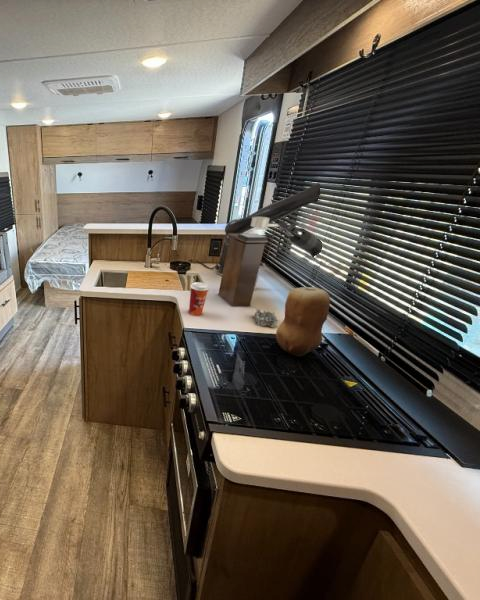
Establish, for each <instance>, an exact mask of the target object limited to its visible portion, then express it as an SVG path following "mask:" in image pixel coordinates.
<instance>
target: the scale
mask: <svg viewBox="0 0 480 600" xmlns="http://www.w3.org/2000/svg"><path fill="white" fill-rule="evenodd" d="M238 237H239V238H241V239H244V240H246V241H267V240H268V238H269V237H267V236H266V234H259V233H249V234H238Z"/></svg>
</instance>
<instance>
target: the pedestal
mask: <svg viewBox="0 0 480 600" xmlns="http://www.w3.org/2000/svg"><path fill="white" fill-rule="evenodd" d="M238 234H250V233H249V232H244V233H234V234H228V235H229V236H231V237H229V242H228V247H227V253H226V258H225V263H224V268H223V273H222V275H221V279H220V284H219V290H218V293H217V294H218V296H219V297H220V298H222V299H223V300H224V301H225V302H226V303H228V304H229V305H230V306H231V307H250V306H251V303H252V300H253V296H254V291H255V290H254V287H255V283H256V279H257V275H259V269H260V266H261V262H262V258H263V255H264V250H265V246H266V244H265V243H268V242H269V240H268V239H267V241H246V240H244V239H241V238H239V237H238Z"/></svg>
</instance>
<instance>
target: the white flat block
mask: <svg viewBox="0 0 480 600" xmlns="http://www.w3.org/2000/svg"><path fill="white" fill-rule="evenodd" d="M269 219H270V218H267V217H252V221H251V226H252V227H255V228H257V229H258V228H259V229H266V228H268V227H269V228H271V227H272V228H273V227H277V228H278V227H280V226H279V225H278V223H275V222H270V223H269ZM286 223H287V224H289V225H290V226H291V223H288V222H286Z"/></svg>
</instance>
